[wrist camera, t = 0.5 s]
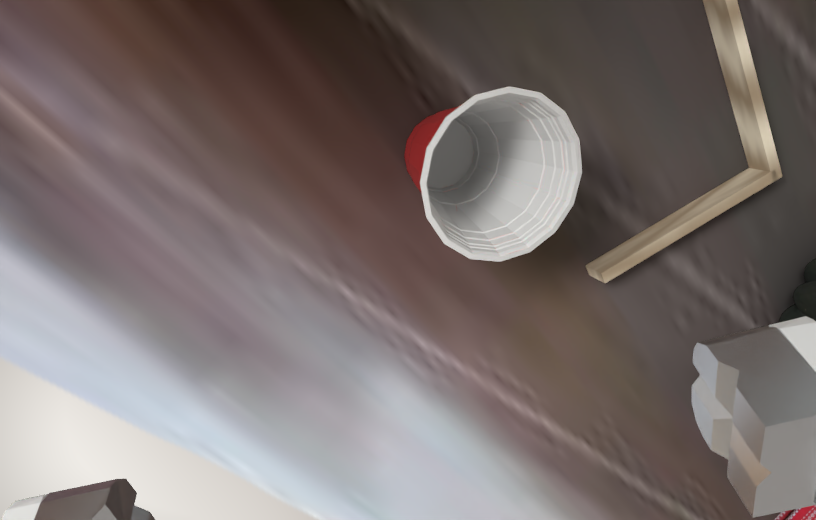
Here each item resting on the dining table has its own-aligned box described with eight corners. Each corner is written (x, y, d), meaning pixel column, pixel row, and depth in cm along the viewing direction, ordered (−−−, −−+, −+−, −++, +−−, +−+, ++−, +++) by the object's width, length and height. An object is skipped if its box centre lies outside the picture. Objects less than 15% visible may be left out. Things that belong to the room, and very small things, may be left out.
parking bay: (443, -94, 49) (456, -102, 46) (660, -201, 51) (682, -213, 49) (589, 275, 60) (605, 283, 57) (760, 172, 62) (782, 176, 60)
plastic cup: (405, 249, 54) (461, 295, 43) (348, 120, 50) (393, 135, 39) (524, 187, 56) (607, 217, 45) (477, 58, 52) (556, 55, 41)
